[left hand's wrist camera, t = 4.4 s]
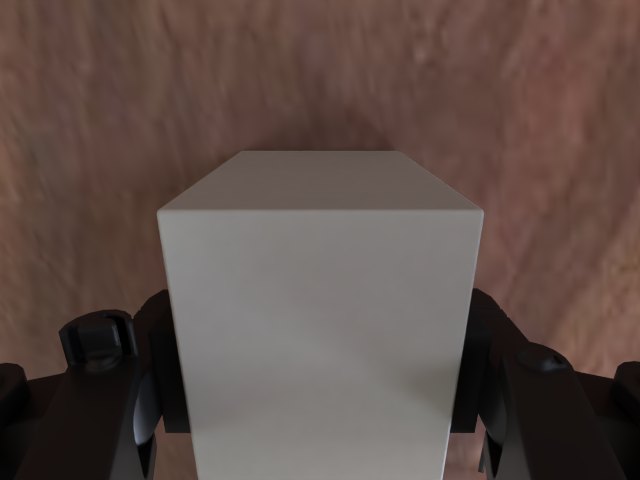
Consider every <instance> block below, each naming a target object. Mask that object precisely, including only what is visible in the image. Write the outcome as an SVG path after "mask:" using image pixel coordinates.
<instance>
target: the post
mask: <svg viewBox="0 0 640 480" xmlns="http://www.w3.org/2000/svg"><path fill="white" fill-rule="evenodd" d="M483 219H484V212H483V210H482V209H481V208H479V207H478V206H476V205H475V204H474V203H472V202H471V201H469V200H468V199H466V198H465V197H464V196H462V195H461V194H459V193H458V192H456V191H455V190H454V189H452V188H451V187H449V186H448V185H447V184H445V183H444V182H442V181H441V180H439V179H438V178H437V177H435V176H434V175H432V174H431V173H429V172H428V171H427V170H425V169H424V168H422V167H421V166H420V165H418V164H417V163H415V162H414V161H412V160H411V159H410V158H408V157H407V156H405V155H404V154H402V153H401V152H400V151H240V152H239V153H238V154H236V155H235V156H233V157H232V158H231V159H229V160H228V161H226V162H225V163H224V164H222V165H221V166H219V167H218V168H216V169H215V170H214V171H212V172H211V173H209V174H208V175H207V176H205V177H204V178H202V179H201V180H200V181H198V182H197V183H195V184H194V185H193V186H191V187H190V188H188V189H187V190H185V191H184V192H183V193H181V194H180V195H178V196H177V197H176V198H174V199H173V200H171V201H170V202H169V203H167V204H166V205H164V206H163V207H162V208H160V209H159V210H158V211H157V220H158V226H159V232H160V239H161V245H162V252H163V258H164V264H165V271H166V277H167V284H168V290H169V296H170V303H171V309H172V315H173V322H174V328H175V335H176V341H177V347H178V354H179V360H180V366H181V373H182V379H183V386H184V392H185V398H186V405H187V411H188V417H189V424H190V430H191V437H192V443H193V449H194V456H195V462H196V469H197V475H198V480H442V478H443V471H444V465H445V459H446V452H447V446H448V440H449V434H450V427H451V421H452V415H453V408H454V402H455V396H456V389H457V383H458V377H459V370H460V364H461V358H462V351H463V345H464V339H465V332H466V326H467V320H468V313H469V307H470V301H471V295H472V288H473V282H474V276H475V269H476V263H477V257H478V250H479V244H480V238H481V231H482V225H483Z"/></svg>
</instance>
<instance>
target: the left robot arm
mask: <svg viewBox="0 0 640 480" xmlns="http://www.w3.org/2000/svg"><path fill="white" fill-rule="evenodd" d="M59 336H60V339H61V343H62V346H63V350H64V353H65V357H66V360H67V364H68V368H67V370H66V372H65V373H62V374H58V375H53V376H48V377H43V378H38V379H33V380H28V381H27V378H26V375H25V372H24V369H23V368H22V367H21V366H19V365H18V364H12V363H2V364H0V480H153V475H154V467H155V459H156V450H157V444H156V438H155V433H154V430H155V428H156V426H157V424H158V422H159V420H160V418H161V416H162V415H163V421H164V426H165V431H166V433H191V430H190V424H189V417H188V411H187V405H186V398H185V392H184V386H183V379H182V373H181V366H180V360H179V354H178V347H177V341H176V335H175V328H174V322H173V315H172V309H171V303H170V296H169V290H162V291H160V292H159V293H157V294H155V295H154V296H152V297H150V298H149V299H148V300H147V301H146V303H145V304H144V305H143V306H142V307H141V310H139V311H138V312H137V313H136V314H135V316H134V319H131V315H129V314H128V313H127V312H125V311H121V310H101V311H97V312H92V313H88V314H86V315H83V316H80V317H78V318H76V319H74V320H72V321H71V322H69V323H67V324H66V325H65V326H64V327H63V328H62V329H61V330H60V331H59ZM478 414H479V416H480V418H481V420H482V422H483V424H484V426H485V428H486V433H485V438H484V443H483V448H482V453H481V458H480V463H479V469H478V472H482V473H483V472H484V468H485V466H486V474H487V480H640V362H637V361H632V362H624V363H622V364H621V365H619V366H618V367H617V370H616V373H615V376H614V379H611V378H606V377H601V376H596V375H591V374H586V373H581V372H577V371H574V369H573V367H572V365H571V364H570V363H569V362H568V360H567V359H566V358H565V357H564V356H562V355H561V354H559V353H558V352H557V351H555V350H553V349H551V348H548V347H546V346H544V345H541V344H537V343H533V342H529V341H528V340H527V338H526V337H525V336H524V335H523V334H522V333H521V331H520V330H519V329H518V328H517V327H516V325H515V324H514V323H513V322H512V321H511V320H510V318H509V317H507V315H506V314H505V313H504V311H503V310H502V309H500V307H499V305H498V304H497V303H496V302H495V301H494V300H493V298H492V297H491V296H489V295H487V294H486V293H484V292H482V291H481V290H479V289H477V288H472V295H471V301H470V307H469V313H468V320H467V326H466V332H465V339H464V345H463V351H462V358H461V364H460V370H459V377H458V383H457V389H456V396H455V402H454V408H453V415H452V421H451V427H450V433H475V427H476V422H477V417H478Z"/></svg>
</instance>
